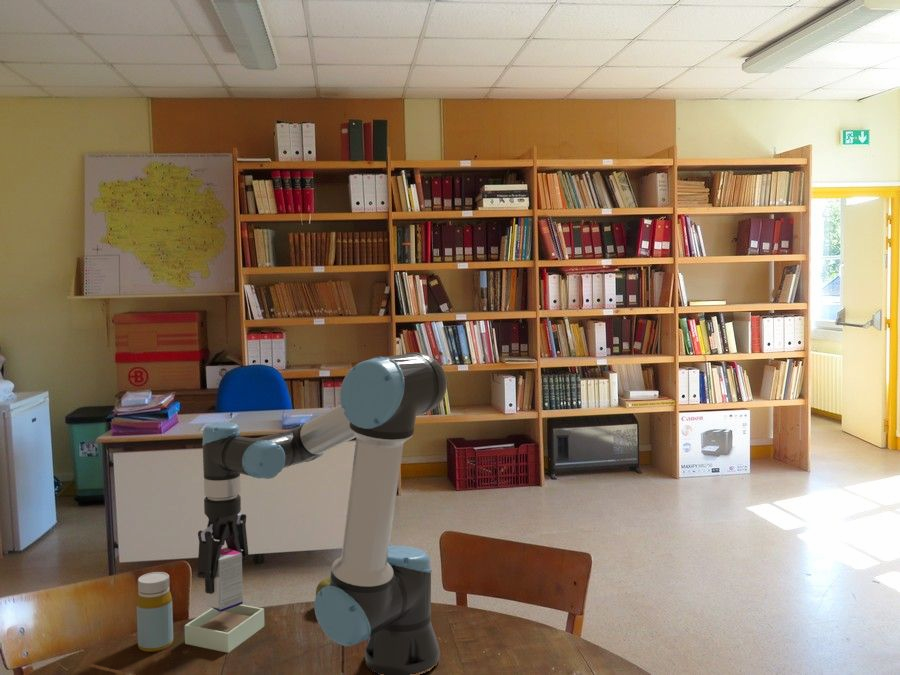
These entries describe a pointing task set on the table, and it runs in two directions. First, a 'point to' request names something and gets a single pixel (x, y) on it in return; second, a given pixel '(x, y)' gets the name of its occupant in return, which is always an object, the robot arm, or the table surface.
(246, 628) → the box
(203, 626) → the walnut block
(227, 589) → the supplement box
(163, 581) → the bottle
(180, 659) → the table surface
